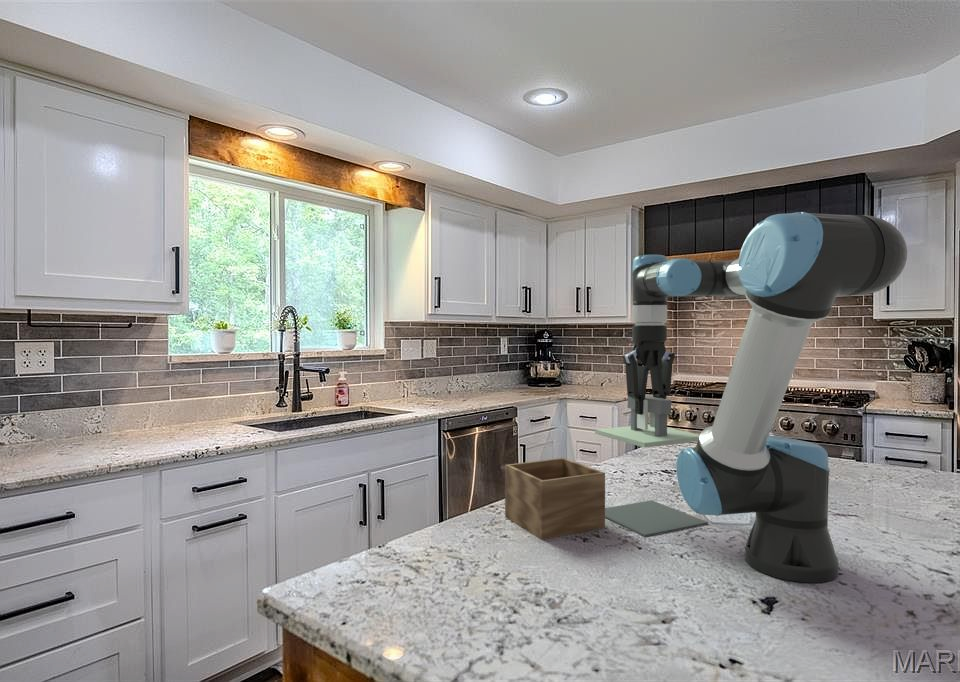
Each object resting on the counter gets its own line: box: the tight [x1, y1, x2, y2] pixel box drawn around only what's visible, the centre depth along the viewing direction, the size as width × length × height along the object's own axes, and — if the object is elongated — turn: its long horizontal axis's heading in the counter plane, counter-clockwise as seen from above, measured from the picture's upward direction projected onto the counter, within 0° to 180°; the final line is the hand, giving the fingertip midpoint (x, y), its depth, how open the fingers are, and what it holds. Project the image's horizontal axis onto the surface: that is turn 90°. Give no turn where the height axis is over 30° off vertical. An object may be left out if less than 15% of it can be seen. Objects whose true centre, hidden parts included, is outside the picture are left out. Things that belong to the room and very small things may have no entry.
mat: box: [605, 500, 709, 538], centre depth 135 cm, size 18×18×1 cm
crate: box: [504, 457, 606, 540], centre depth 132 cm, size 16×16×12 cm
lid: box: [594, 395, 700, 449], centre depth 135 cm, size 17×17×9 cm
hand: (648, 427), depth 135 cm, fingers closed on lid, 3 cm apart
